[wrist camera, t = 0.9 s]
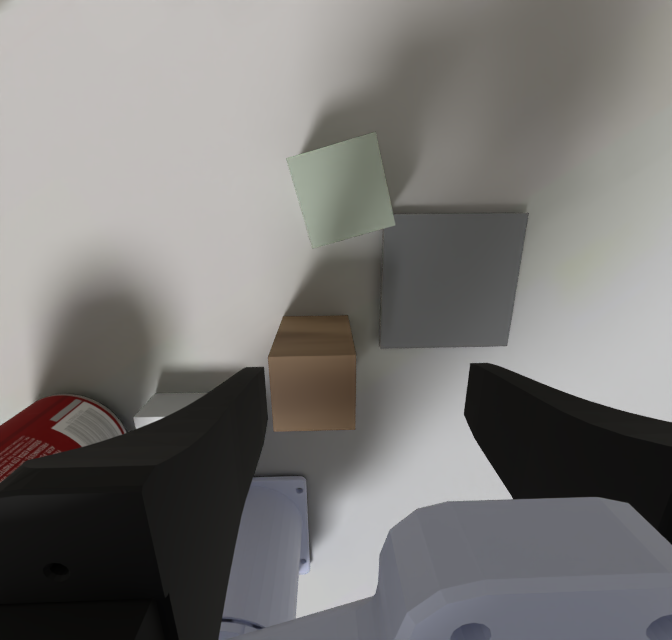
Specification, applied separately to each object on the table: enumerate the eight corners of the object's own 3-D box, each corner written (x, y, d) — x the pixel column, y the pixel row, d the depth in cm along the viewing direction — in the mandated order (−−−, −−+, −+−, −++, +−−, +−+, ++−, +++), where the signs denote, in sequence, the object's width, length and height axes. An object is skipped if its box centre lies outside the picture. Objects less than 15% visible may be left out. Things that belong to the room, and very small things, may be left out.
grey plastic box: (240, 463, 25) (229, 496, 22) (171, 464, 25) (150, 498, 22) (232, 390, 23) (219, 416, 20) (157, 391, 23) (133, 417, 20)
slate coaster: (502, 342, 22) (507, 346, 22) (379, 344, 22) (380, 348, 21) (522, 212, 20) (528, 212, 19) (383, 213, 19) (385, 214, 19)
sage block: (382, 221, 20) (395, 225, 16) (314, 240, 20) (312, 248, 16) (365, 146, 18) (375, 131, 15) (294, 168, 19) (285, 158, 15)
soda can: (101, 375, 22) (-137, 555, 11) (152, 456, 24) (-2, 679, 13) (9, 405, 23) (-313, 610, 11) (67, 482, 25) (-154, 720, 13)
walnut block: (347, 373, 23) (355, 429, 17) (286, 374, 22) (273, 431, 17) (347, 315, 21) (356, 355, 16) (283, 316, 21) (267, 356, 16)
